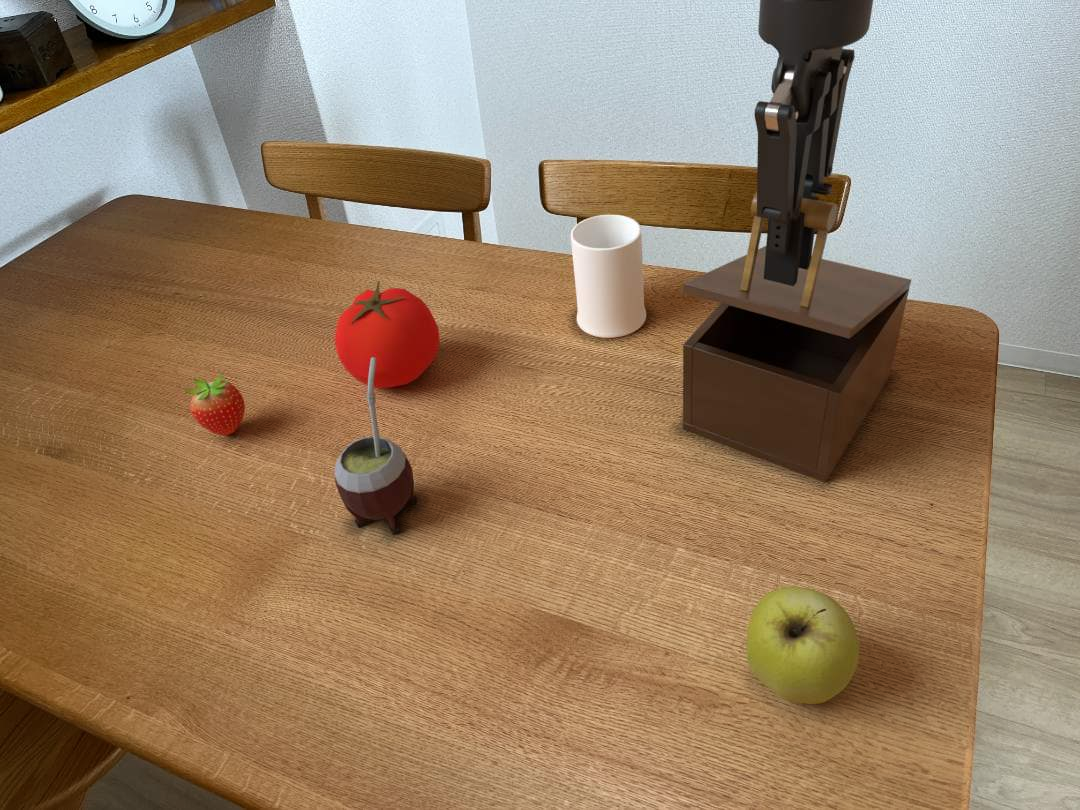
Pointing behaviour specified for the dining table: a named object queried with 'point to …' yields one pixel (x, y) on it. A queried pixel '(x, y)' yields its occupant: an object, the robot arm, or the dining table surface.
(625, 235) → the mug
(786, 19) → the robot arm
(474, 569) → the dining table surface
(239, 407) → the fruit
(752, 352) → the chest
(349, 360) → the tomato
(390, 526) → the mate gourd
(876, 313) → the lid
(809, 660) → the apple
